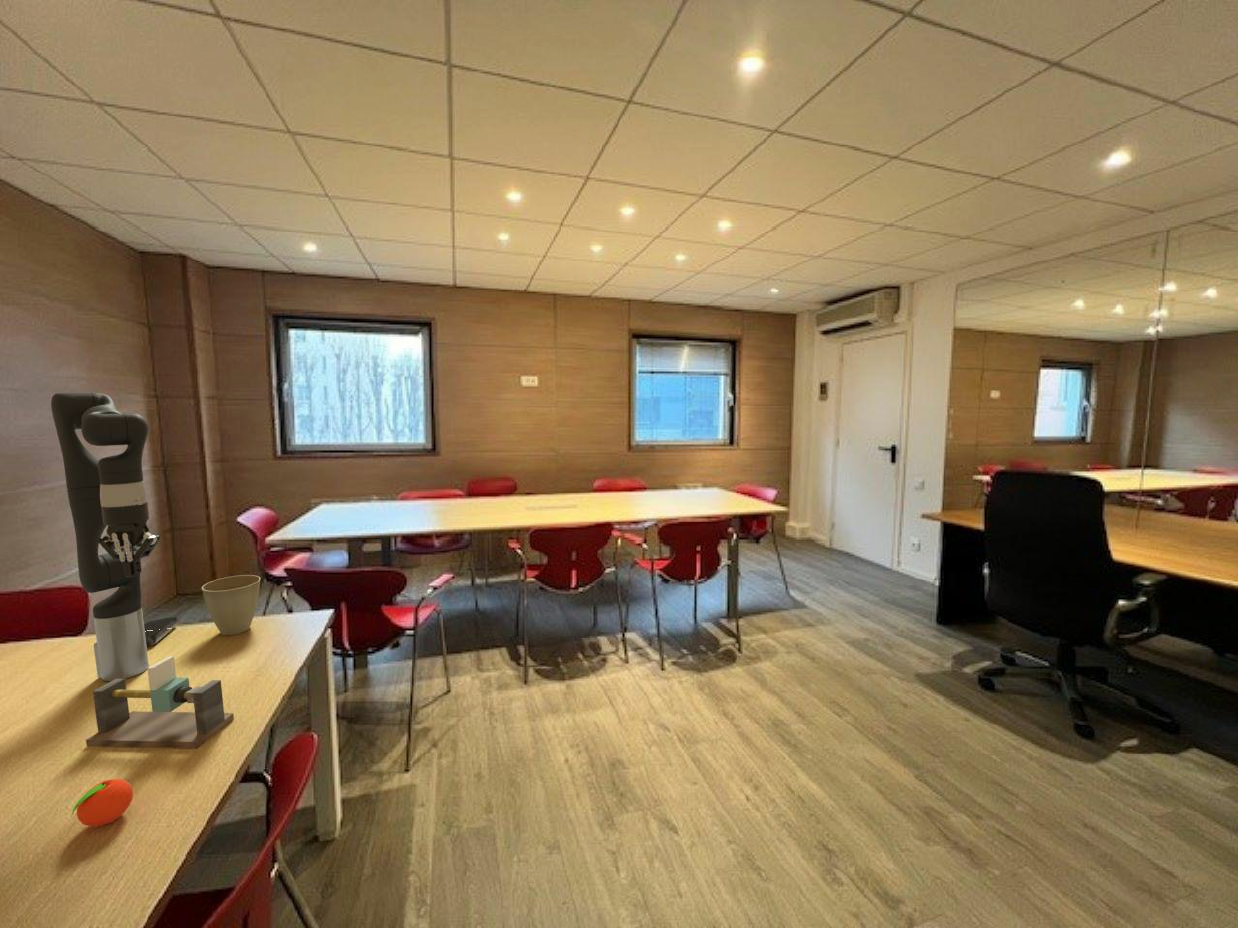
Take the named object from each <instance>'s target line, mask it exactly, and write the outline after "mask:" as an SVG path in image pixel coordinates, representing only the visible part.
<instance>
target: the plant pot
mask: <svg viewBox="0 0 1238 928" xmlns="http://www.w3.org/2000/svg"><path fill="white" fill-rule="evenodd" d="M260 587H261V577H260V576H259V575H252V574H241V575H233V576H227V577H222V578H218V579H215V580H212V581H208V582H207V583H204V584H203V585H202V586H201V591H202V594H203V598H204V602H205V605H206V608H207V610H208V612H209V615H210V617H211V619H212V620H213V622H214V625H215V626H216V628H217V629H218V632H219V633H220V634H221V635H222V636H234V635H238V634H242V633H245V632H246V631H248V630H249V629H250V628H251V625H252V622H253V621H254V620H253V619H254V617H255V613H256V610H257V605H258V600H259V596H260Z"/></svg>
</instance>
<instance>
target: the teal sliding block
mask: <svg viewBox="0 0 1238 928" xmlns="http://www.w3.org/2000/svg"><path fill="white" fill-rule="evenodd" d="M175 663H176V662H175V657H174V656H173V655H172V656H169V655H168V656H166V657H165V658H163V659H161V660H160V661H158V662H156V663H154V664H152V665H149V667H148V668H147V669H146V671H147V677H148V684H149V686H148V687H149V690H150V695H151V698H150V703H151V712H174V711H175V710H176V709H178V708H179V707H181V706H182V705H184V703H176V702H175V701H174V694H175V692H176V690H177V689H178V688H180V687H190V679H189V677H177V674H176V664H175Z"/></svg>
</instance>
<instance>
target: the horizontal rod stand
mask: <svg viewBox="0 0 1238 928" xmlns="http://www.w3.org/2000/svg"><path fill="white" fill-rule="evenodd" d="M126 685H127V683H126V679H115V680H113V681H108V683H105V684H103V685H102V686H100V687H98V688H97V689H95V690H93V691H92V695H93V702H94V710H95V711H94V712H95V718H96V727H97V732H96V733H95V734H93V735H91V736H90V737H89V738H86V739H85V742H86V743H85V744H86V747H92V748H93V747H96V748H97V747H101V748H103V747H104V748H154V749H157V748H158V749H159V748H160V749H198V748H199V747H201V746H202V745H204V744H205V743H206V742H208V741H209V740H210V739H211V738H212V737H214V736H215V735H216V734H217V733H219V732H220V731H221V730H222V729H224V728H225V727H226V726H227V725H228V724H230V723H231V722H232V721H234V719H235V715H234V712H225V709H224V699H223V688H222V680H221V679H220V680H219V679H216V680H215V679H212V680H210V681H209V682H207V683H206V684H204V685H203V686H194V687H191V686H189V687H180V688H178V689H177V690H176V692H175V694H174V701H175V702H176V703H183V704H185V703H187V704H193V707H194V712H193V711H192V712H191V711H190V712H189V711H187V712H186V711H171V712H152V711H135V710H134V711H130V709H129V702H128V698H130V699H151V695H150V689H127V686H126Z"/></svg>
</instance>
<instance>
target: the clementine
mask: <svg viewBox="0 0 1238 928" xmlns="http://www.w3.org/2000/svg"><path fill="white" fill-rule="evenodd" d="M133 797H134V791H133V788H132V785H131V783H129V782H128V781H127V780H124V779H119V778H111V779H110V778H109V779H106V780H103V781H101V782H98V783H97V784H96V785H94V786H92V787H91V788H89V789H88V790H87V791H86V792H85V794H84V795H82V797H81V798H80V799H78V802H76V804H75V806H74V807H73V809H72V812H71V816H70V818H72V817H73V814H74V812H75V811H76V816H77V819H78V821H79V822H80V823H81V824H82V825H84V826H88V827H91V828H92V827H95V828H96V827H102V826H105V825H108V824H110V823H112V822H114V821H116V820H117V819H119V818H120V817H121V816H122V815H123V814H124V813H125V812H126V811H127V809H128V808H129V806H130V805H131V802H132V800H133Z"/></svg>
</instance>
